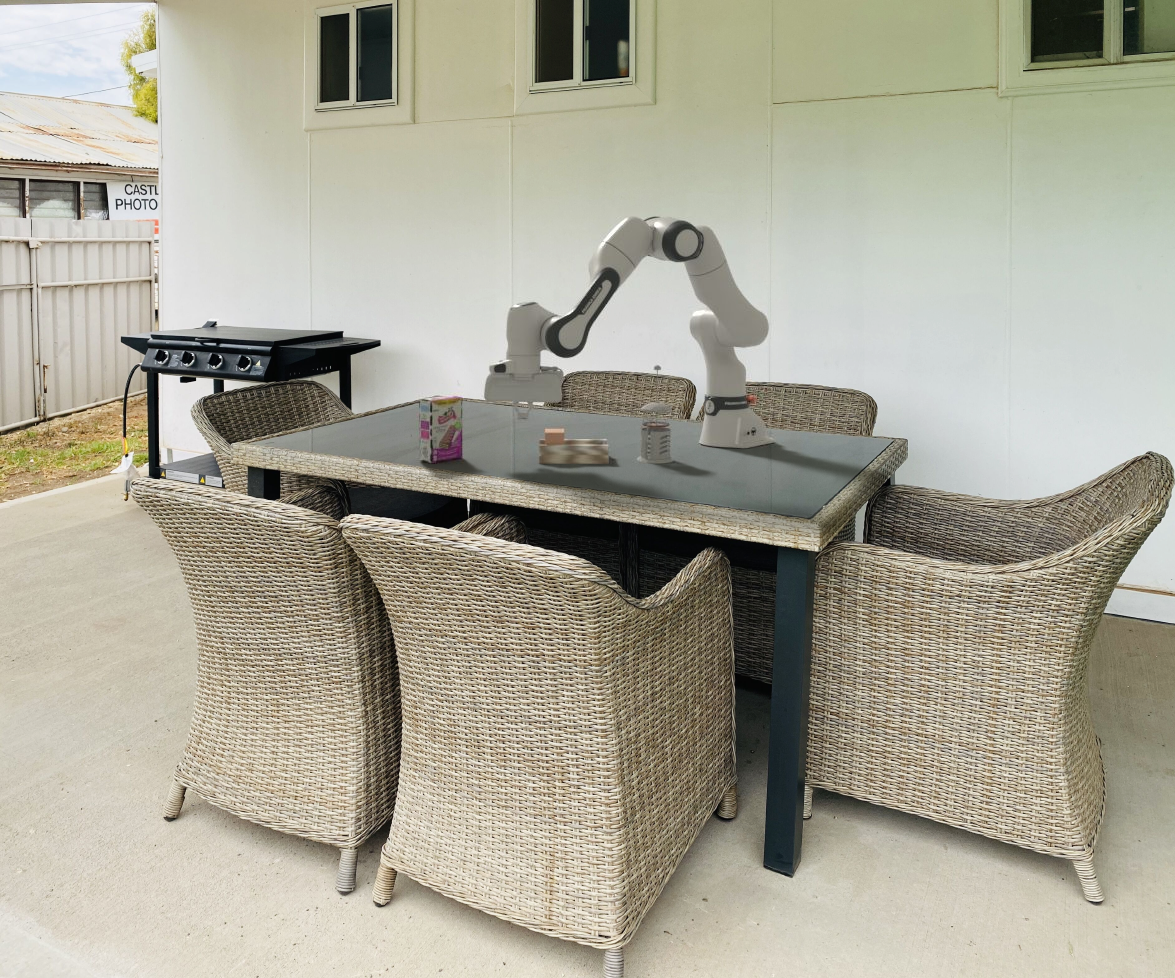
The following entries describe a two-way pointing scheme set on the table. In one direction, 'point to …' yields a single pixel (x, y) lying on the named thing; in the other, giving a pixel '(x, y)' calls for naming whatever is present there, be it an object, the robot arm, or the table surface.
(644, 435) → the french press
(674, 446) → the table surface
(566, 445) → the chute
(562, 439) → the block
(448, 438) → the candy bar box
